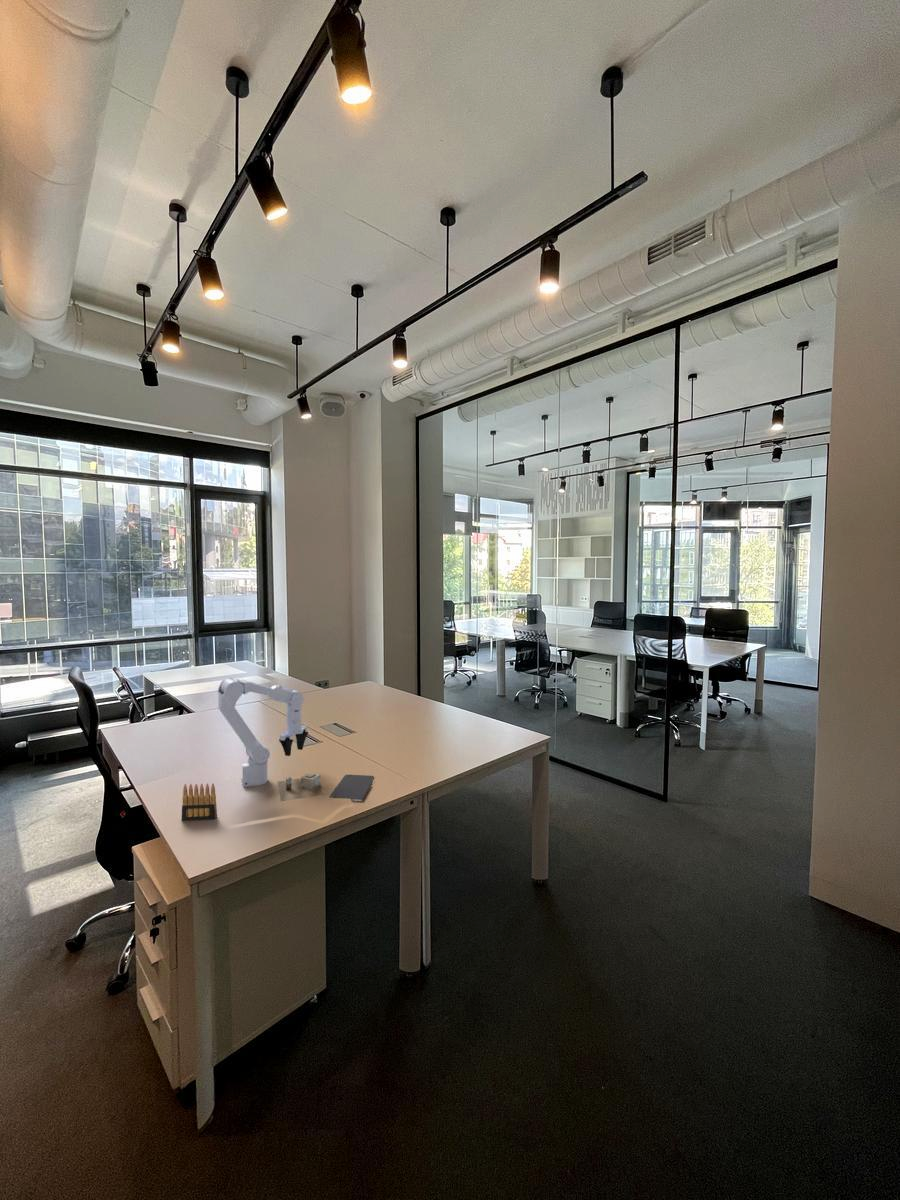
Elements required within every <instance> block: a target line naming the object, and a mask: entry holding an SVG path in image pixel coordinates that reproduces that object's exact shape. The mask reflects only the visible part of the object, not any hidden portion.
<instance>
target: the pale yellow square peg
mask: <svg viewBox="0 0 900 1200" xmlns="http://www.w3.org/2000/svg"><path fill="white" fill-rule="evenodd" d="M307 774H308V773H307ZM315 774H316V773H314V774H308V775H307V776H306V777H308V778H313V777H314V776H315Z"/></svg>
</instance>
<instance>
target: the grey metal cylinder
mask: <svg viewBox="0 0 900 1200" xmlns="http://www.w3.org/2000/svg"><path fill="white" fill-rule="evenodd" d="M292 780H293V778H292V777H291V776H290V777H289V776H288V777H286V778H285V781H286V790H287V791H289V790H291V789H292Z"/></svg>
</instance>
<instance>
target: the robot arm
mask: <svg viewBox="0 0 900 1200" xmlns="http://www.w3.org/2000/svg"><path fill="white" fill-rule="evenodd" d="M217 693H218V700H217V701H218V703H217V704H218V708H217V709H218V710H219V711H220V713H221V715H222V716H223V717H224V719H225V720H226V721H227V723H228V724H229V726H230V727H231V728H232V731H234V733H235V735H236V736H237V737H238V738H239V740H240V742H241V743H242V744H243V746H244V748H245V753H246V755H247V756H248V760H247V762H244V763H242V777H241V783H242V788H243V787H244V788H246V787H251V786H253V787H256V786H261V785H264V784H266V783H268V782H269V781H268V780H269V779H268V777H269V776H268V775H269V774H268V771H269V769H268V768H269V767H268V766H269V765H268V762H269V761H268V760H270V759H269V758H270V756H271V755H270V750H269V749H268V748H266V747H265V746H264V745H262V744H261V742H260V741H259V740H258V739H257V738H256V736H255V735H254V733H253V732H252V730H251V729H250V727H249V726H248V724H247V723H246V722H245V721H244V718H242V716H241V715H240V713H239V712H238V710H237V709H236V707H235V706H236V705H237V702H238V700H239V699H240V698H241V697H242V695H247V694H248V693H255V694H259V695H263V696H267V697H268V698H269V700H271V701H273V702H274V701H276V702H280V703H282V704H286V730H285V731H284V732H283V733H282V734H280V735H279V738H278V740H279V743H280V744H281V746H282V749H283V752H284V755H285V757H290V756H291V754H292V747H293V746H292V745H293V742H294V739H291V737H294V736H295V739H296V748H297V750H300V751H303V749H304V745H305V741H306V739H307V737H308V735H309V732H308V725H302V704H303V703H304V700H305V698H304V697H303V696H304V695H303V694H302V693H301V692H299V691H297V690H295V689H293V688H291V687H289V688H286V687H283V686H282V685H280V684H277V685H272V686H271V687H270V686H266V685H262V684H261V683H260V684H259V683H256V682H253V681H249V680H246V679H239V678H236V679H234V678H233V677H227V678H224V679H222V680H221V682H220V684H219V686H218V688H217Z"/></svg>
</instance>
